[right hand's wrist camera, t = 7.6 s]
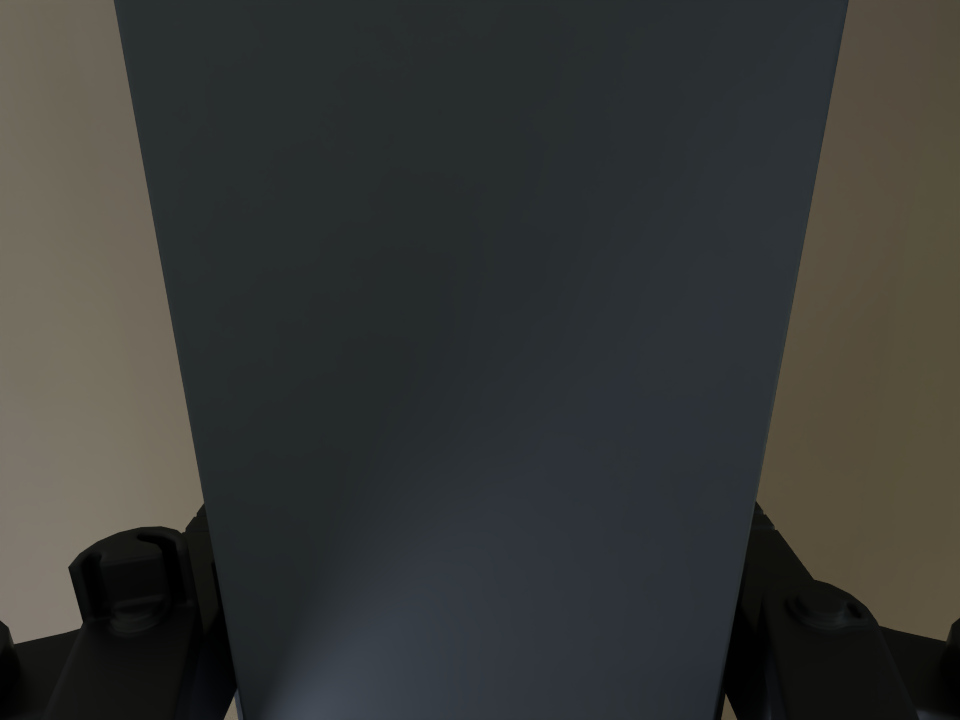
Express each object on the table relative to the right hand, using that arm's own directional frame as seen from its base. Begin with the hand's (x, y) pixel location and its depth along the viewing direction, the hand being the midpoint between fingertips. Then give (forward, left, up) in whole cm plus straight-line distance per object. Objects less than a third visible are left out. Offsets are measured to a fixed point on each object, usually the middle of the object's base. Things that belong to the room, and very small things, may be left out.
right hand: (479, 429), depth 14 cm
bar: (+12, +20, -1) cm, 23 cm away
